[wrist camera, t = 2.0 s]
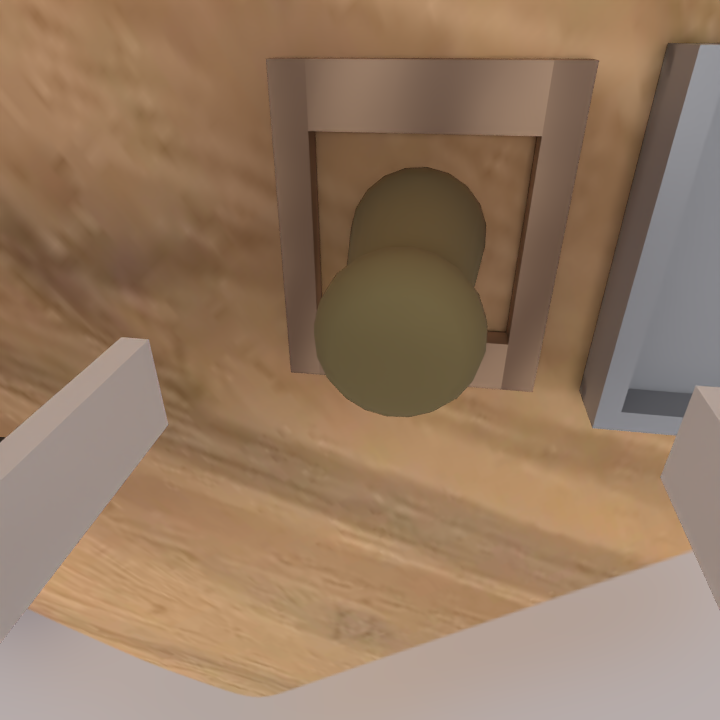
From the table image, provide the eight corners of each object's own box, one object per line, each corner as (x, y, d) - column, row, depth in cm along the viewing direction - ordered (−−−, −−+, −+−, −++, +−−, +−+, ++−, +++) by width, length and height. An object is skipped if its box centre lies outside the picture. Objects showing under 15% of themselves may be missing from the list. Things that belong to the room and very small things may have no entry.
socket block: (296, 360, 29) (291, 372, 28) (275, 57, 21) (266, 58, 20) (529, 378, 27) (532, 391, 26) (591, 58, 20) (598, 60, 19)
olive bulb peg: (508, 263, 24) (542, 407, 15) (391, 318, 26) (357, 472, 17) (448, 139, 22) (444, 216, 13) (326, 209, 24) (245, 320, 15)
